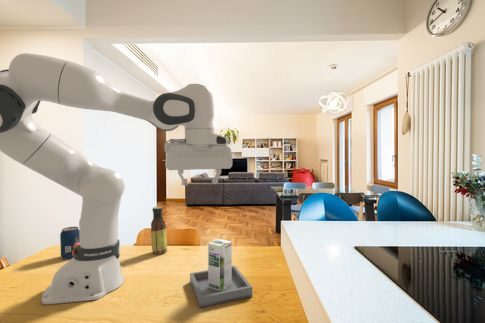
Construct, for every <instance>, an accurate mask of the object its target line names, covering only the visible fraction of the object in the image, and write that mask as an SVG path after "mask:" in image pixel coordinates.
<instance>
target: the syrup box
mask: <svg viewBox="0 0 485 323" xmlns="http://www.w3.org/2000/svg"><path fill="white" fill-rule="evenodd" d="M232 243H233V242H232V240H225V239H220V238H215V239H213V240H211V241H210V242H208V243H207V257H208V258H207V259H208V261H207V264H208V266H207V270H208V288H211V289H214V290H217V291H220V292H222V291H225V290H226V289H227V288H228V287H229V286H230V285H231V284H232V266H233V263H232V261H233V260H232V259H233V256H232V255H233V252H232V250H233V245H232Z"/></svg>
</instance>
